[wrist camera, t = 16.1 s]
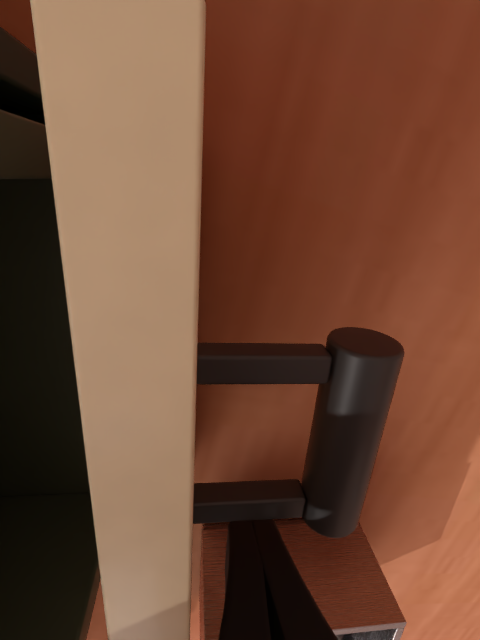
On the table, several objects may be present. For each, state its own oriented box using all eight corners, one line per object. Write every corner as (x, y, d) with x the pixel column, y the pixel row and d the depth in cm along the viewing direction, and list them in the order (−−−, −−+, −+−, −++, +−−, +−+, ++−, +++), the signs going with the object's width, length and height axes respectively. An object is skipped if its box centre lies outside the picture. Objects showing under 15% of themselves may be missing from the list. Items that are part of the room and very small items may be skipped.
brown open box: (337, 585, 18) (376, 698, 14) (199, 597, 17) (200, 722, 13) (356, 515, 16) (407, 622, 12) (202, 524, 15) (205, 644, 11)
